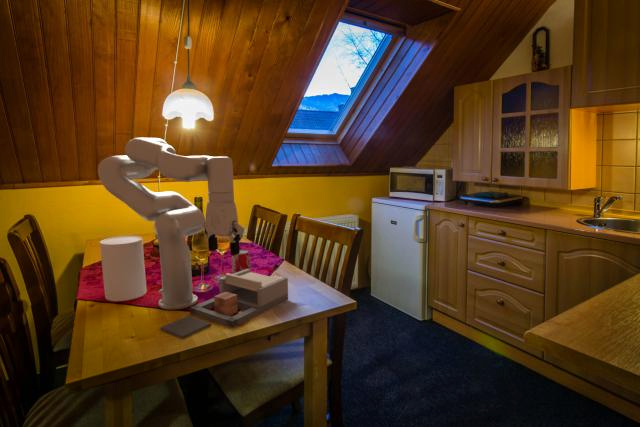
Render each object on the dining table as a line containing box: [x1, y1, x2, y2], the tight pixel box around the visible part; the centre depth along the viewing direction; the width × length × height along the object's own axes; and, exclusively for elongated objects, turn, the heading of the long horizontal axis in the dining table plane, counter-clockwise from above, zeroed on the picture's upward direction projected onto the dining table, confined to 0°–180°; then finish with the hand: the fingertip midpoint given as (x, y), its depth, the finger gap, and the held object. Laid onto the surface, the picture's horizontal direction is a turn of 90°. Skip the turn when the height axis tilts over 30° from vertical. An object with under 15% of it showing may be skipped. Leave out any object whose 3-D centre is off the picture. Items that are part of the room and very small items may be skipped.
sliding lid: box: [224, 271, 280, 291], centre depth 141 cm, size 15×12×3 cm
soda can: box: [231, 249, 252, 274], centre depth 161 cm, size 7×7×12 cm
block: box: [213, 292, 239, 317], centre depth 131 cm, size 5×5×6 cm
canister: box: [99, 235, 148, 302], centre depth 147 cm, size 14×14×20 cm
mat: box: [160, 315, 212, 339], centre depth 121 cm, size 10×10×1 cm
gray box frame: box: [189, 269, 289, 329], centre depth 136 cm, size 19×26×8 cm
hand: (224, 252), depth 128 cm, fingers open, 9 cm apart
